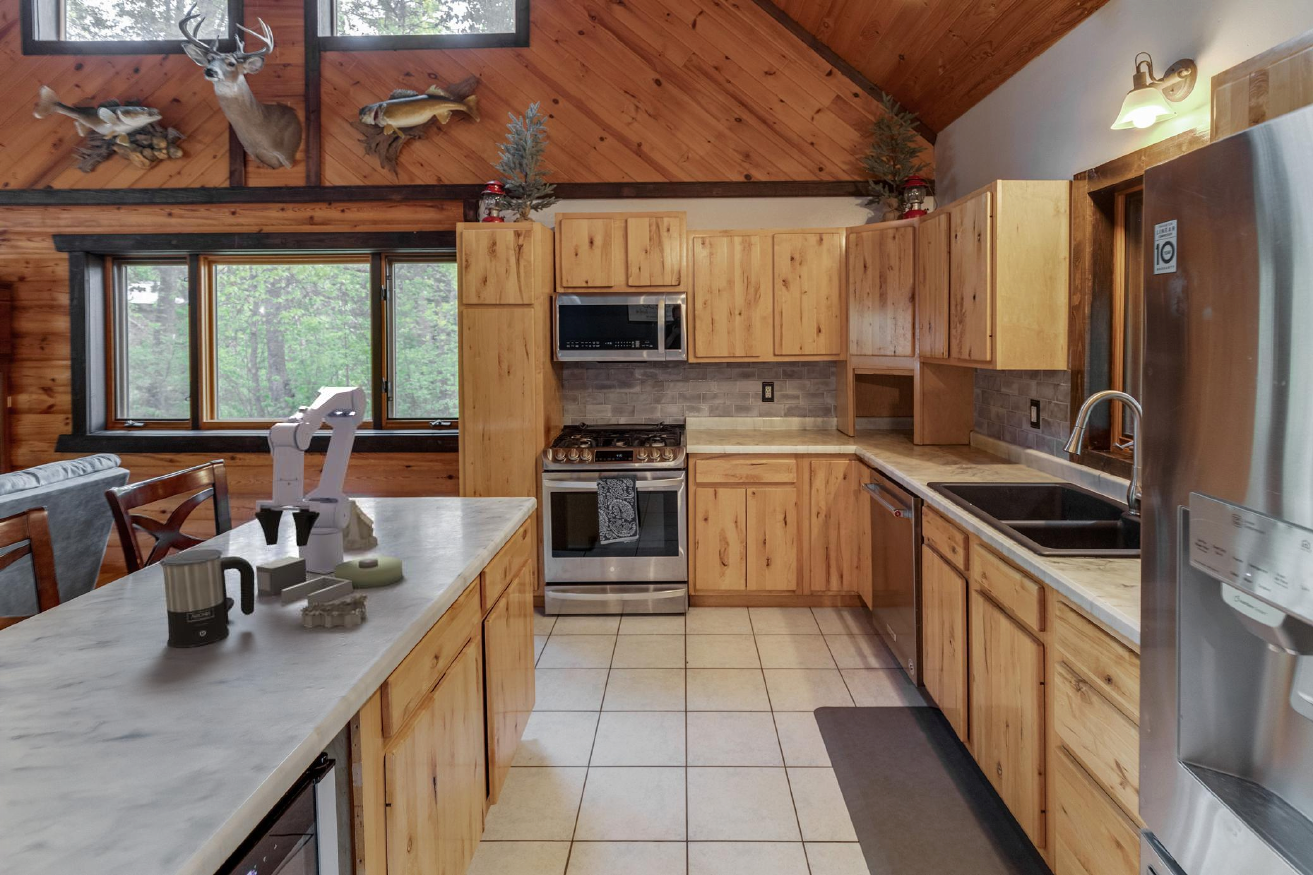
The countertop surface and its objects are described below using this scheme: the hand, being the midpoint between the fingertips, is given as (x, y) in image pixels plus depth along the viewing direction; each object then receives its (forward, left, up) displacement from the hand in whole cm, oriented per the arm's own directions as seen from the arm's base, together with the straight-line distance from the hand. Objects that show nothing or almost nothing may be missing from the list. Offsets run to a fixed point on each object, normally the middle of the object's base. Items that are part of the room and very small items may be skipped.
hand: (286, 545), depth 152 cm
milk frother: (+5, -22, -10) cm, 25 cm away
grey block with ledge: (-2, 0, -10) cm, 10 cm away
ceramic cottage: (-20, +35, -10) cm, 41 cm away
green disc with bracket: (+9, +7, -10) cm, 15 cm away
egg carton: (+23, -9, -10) cm, 27 cm away
